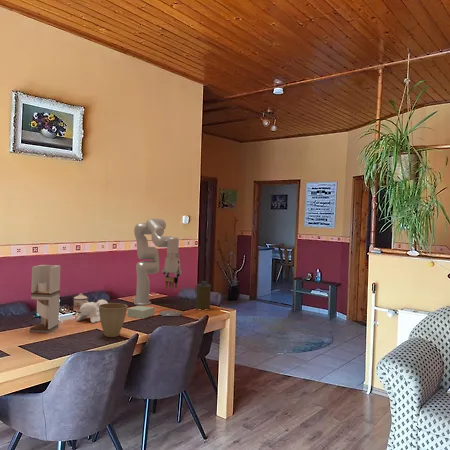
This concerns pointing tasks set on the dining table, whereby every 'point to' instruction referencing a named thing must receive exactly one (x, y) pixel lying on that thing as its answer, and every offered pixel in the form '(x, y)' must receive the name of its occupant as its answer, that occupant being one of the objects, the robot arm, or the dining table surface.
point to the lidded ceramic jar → (79, 302)
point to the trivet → (170, 313)
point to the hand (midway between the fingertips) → (171, 282)
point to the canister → (203, 296)
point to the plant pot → (112, 318)
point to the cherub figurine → (91, 311)
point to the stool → (170, 279)
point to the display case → (46, 296)
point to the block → (140, 312)
